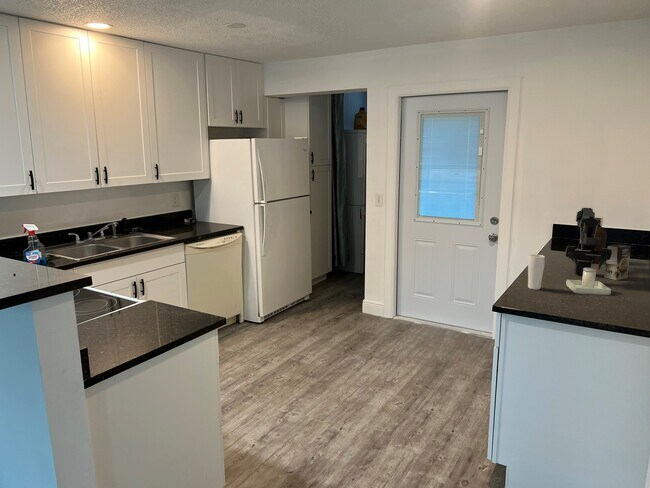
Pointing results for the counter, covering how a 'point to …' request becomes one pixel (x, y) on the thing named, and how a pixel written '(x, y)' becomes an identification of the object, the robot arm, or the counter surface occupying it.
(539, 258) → the drinking glass
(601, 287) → the tray
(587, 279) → the shaker
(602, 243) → the olive oil
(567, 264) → the counter surface
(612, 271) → the coffee box
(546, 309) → the counter surface
